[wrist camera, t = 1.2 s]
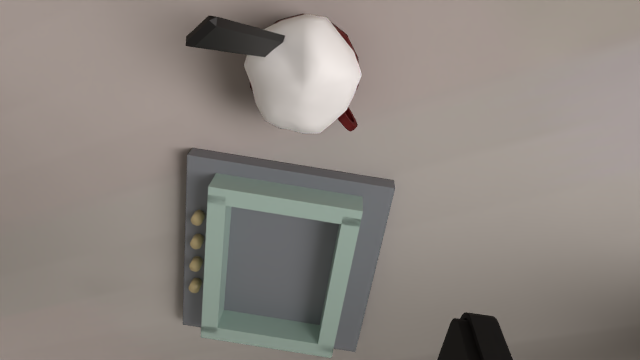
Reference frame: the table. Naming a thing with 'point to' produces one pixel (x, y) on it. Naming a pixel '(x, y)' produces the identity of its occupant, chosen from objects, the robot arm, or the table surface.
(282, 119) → the cocoa
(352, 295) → the holder board
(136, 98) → the table surface
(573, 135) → the table surface
